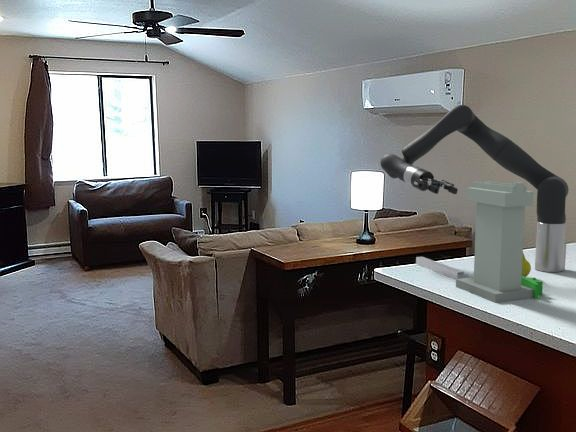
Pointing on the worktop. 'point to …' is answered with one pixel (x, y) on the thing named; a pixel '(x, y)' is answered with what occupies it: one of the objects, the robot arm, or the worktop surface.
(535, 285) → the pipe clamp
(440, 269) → the lever bar
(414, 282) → the worktop surface
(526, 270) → the fruit
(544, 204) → the robot arm
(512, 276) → the post
